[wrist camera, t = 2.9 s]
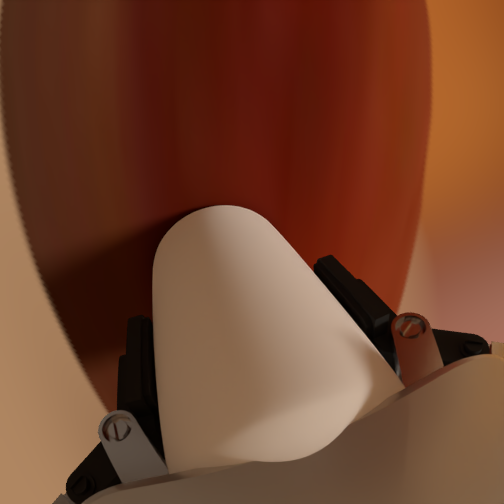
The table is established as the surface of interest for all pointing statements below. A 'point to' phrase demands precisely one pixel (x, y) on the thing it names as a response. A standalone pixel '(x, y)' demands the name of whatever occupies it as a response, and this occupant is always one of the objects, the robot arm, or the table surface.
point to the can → (252, 347)
